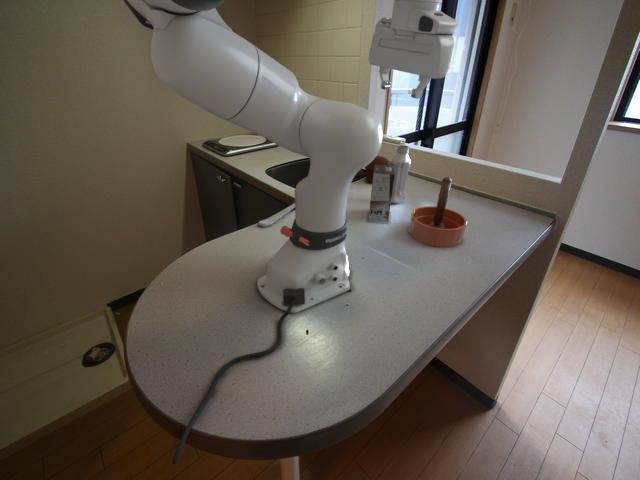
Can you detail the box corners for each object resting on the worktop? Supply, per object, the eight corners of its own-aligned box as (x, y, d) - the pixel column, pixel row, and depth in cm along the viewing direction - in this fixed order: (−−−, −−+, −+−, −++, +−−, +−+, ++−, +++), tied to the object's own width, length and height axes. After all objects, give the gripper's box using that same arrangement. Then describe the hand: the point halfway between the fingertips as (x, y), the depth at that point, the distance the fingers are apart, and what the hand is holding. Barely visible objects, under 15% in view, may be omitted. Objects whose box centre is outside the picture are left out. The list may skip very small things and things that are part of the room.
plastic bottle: (408, 203, 114) (418, 147, 104) (395, 207, 111) (403, 150, 101) (395, 197, 119) (403, 143, 109) (382, 201, 116) (389, 145, 105)
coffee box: (388, 223, 100) (395, 174, 92) (368, 221, 101) (373, 172, 93) (388, 211, 108) (395, 165, 100) (369, 209, 109) (374, 163, 101)
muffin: (359, 183, 131) (361, 159, 126) (365, 174, 140) (367, 152, 135) (388, 187, 128) (391, 162, 123) (392, 178, 137) (395, 155, 132)
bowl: (446, 255, 85) (451, 235, 82) (398, 234, 94) (401, 216, 91) (470, 236, 94) (475, 218, 91) (424, 219, 103) (428, 202, 100)
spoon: (318, 190, 123) (317, 184, 122) (334, 194, 119) (334, 188, 118) (251, 227, 99) (250, 219, 98) (270, 234, 95) (269, 226, 94)
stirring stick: (438, 238, 91) (451, 181, 82) (424, 233, 94) (436, 177, 85) (445, 233, 94) (459, 177, 85) (431, 228, 97) (443, 173, 88)
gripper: (367, 16, 69) (359, 85, 77) (445, 23, 56) (426, 105, 64) (387, 17, 72) (377, 83, 81) (466, 23, 59) (445, 102, 68)
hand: (399, 93), depth 72 cm, fingers open, 8 cm apart
